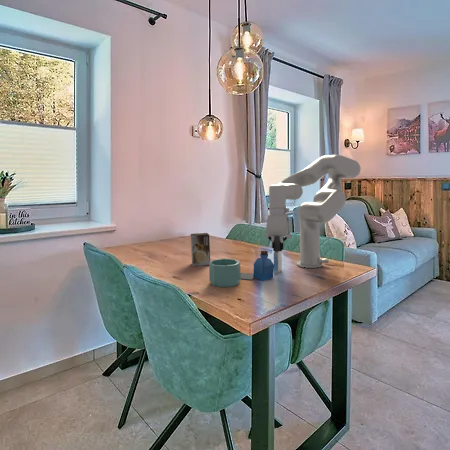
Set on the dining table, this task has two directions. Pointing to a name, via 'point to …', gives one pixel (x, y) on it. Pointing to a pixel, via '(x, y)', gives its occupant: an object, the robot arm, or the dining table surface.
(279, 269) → the brushed metal bar
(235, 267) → the utensil pot
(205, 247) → the coffee box
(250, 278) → the rubber mat
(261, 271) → the perfume bottle
